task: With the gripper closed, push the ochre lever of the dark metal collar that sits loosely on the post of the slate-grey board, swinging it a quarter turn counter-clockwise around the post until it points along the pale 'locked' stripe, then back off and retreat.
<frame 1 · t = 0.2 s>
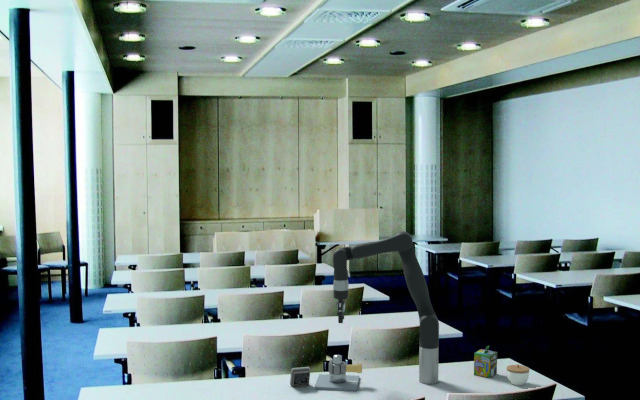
hand: (341, 321, 355), 28 cm above the table, tool pointing down, fingers open, 8 cm apart
chalk box: (485, 374, 363), on the table
post: (337, 368, 347), point 7 cm above the table
base board: (337, 383, 347), on the table
lidded jar: (517, 384, 348), on the table
electrical switch: (301, 386, 343), on the table
coupling: (345, 367, 346), point 8 cm above the table, touching post
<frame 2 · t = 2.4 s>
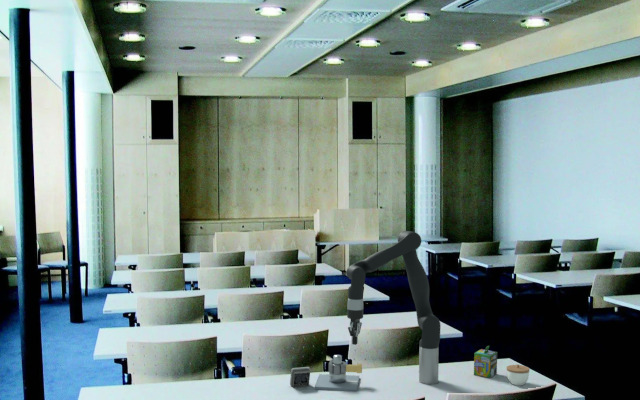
hand: (354, 344, 339), 21 cm above the table, tool pointing down, fingers closed
nothing on the table moved.
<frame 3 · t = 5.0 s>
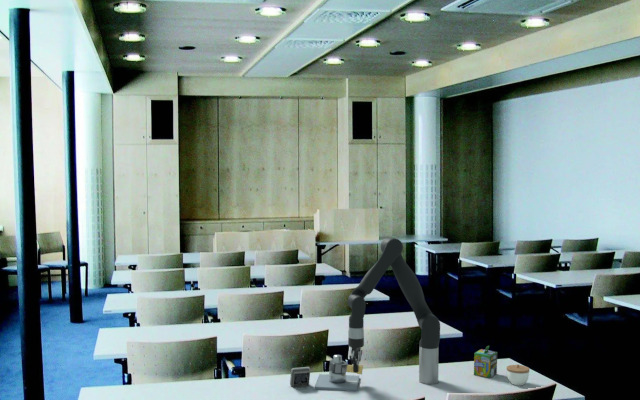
hand: (355, 372, 343), 7 cm above the table, tool pointing down, fingers closed
coupling: (345, 367, 346), point 8 cm above the table, tilted 7°, touching gripper
everything else where it was.
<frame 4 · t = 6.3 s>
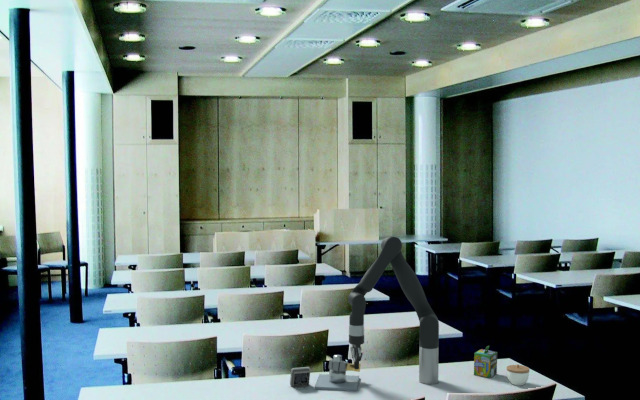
hand: (356, 368, 348), 7 cm above the table, tool pointing down, fingers closed
coupling: (344, 366, 348), point 8 cm above the table, tilted 12°, touching gripper, post
everything else where it was.
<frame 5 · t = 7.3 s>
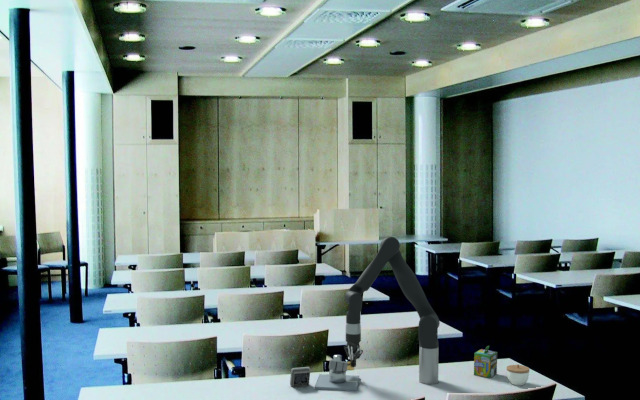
hand: (353, 366, 352), 7 cm above the table, tool pointing down, fingers closed
coupling: (342, 365, 349), point 8 cm above the table, tilted 14°, touching gripper, post
everything else where it was.
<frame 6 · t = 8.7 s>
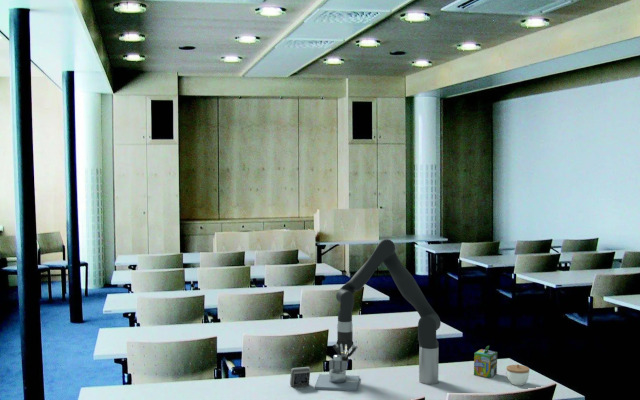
hand: (345, 364, 355), 7 cm above the table, tool pointing down, fingers closed
coupling: (338, 365, 350), point 8 cm above the table, tilted 17°, touching gripper, post
everything else where it was.
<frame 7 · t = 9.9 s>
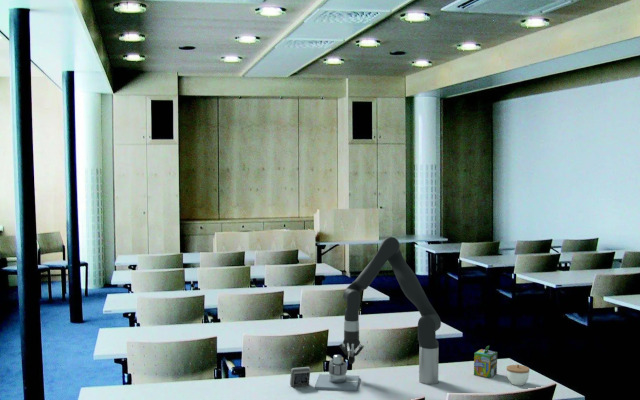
hand: (351, 363, 356), 7 cm above the table, tool pointing down, fingers closed
coupling: (338, 365, 350), point 8 cm above the table, touching post
everything else where it was.
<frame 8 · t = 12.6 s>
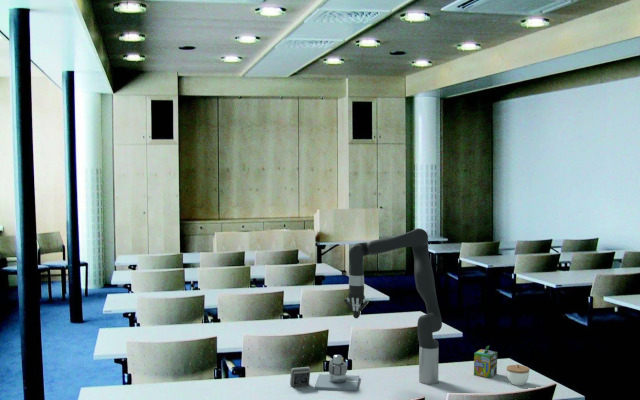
hand: (356, 318, 359), 29 cm above the table, tool pointing down, fingers closed
nothing on the table moved.
at the end: coupling tilted 0° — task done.
